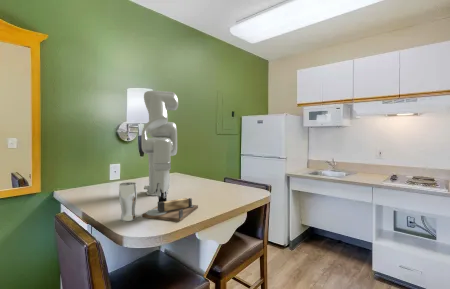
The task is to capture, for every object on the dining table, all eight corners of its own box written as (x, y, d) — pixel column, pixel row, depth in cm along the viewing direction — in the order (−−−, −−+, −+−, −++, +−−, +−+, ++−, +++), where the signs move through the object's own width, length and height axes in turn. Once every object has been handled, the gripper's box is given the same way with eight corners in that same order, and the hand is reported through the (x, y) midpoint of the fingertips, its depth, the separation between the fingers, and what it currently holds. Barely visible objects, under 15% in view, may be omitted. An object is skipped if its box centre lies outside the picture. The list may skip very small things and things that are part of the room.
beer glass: (122, 216, 106) (121, 182, 105) (139, 216, 106) (138, 181, 105) (116, 222, 99) (116, 185, 98) (134, 222, 99) (134, 185, 98)
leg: (185, 205, 115) (185, 197, 115) (188, 206, 113) (188, 198, 113) (157, 210, 107) (157, 201, 107) (159, 212, 105) (159, 203, 105)
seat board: (141, 217, 105) (141, 205, 104) (164, 204, 123) (164, 194, 123) (180, 221, 100) (180, 208, 99) (198, 207, 118) (197, 197, 118)
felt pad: (141, 214, 105) (141, 214, 105) (153, 208, 113) (153, 207, 113) (160, 216, 102) (160, 216, 102) (171, 210, 111) (171, 209, 111)
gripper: (159, 164, 118) (160, 201, 119) (147, 168, 103) (148, 211, 104) (175, 164, 117) (175, 202, 118) (165, 169, 102) (165, 212, 103)
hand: (162, 206), depth 111 cm, fingers closed
